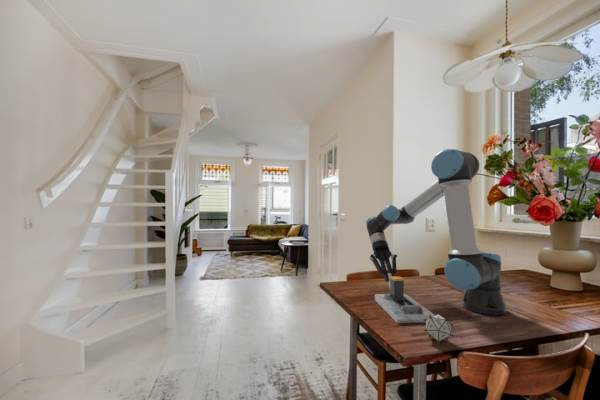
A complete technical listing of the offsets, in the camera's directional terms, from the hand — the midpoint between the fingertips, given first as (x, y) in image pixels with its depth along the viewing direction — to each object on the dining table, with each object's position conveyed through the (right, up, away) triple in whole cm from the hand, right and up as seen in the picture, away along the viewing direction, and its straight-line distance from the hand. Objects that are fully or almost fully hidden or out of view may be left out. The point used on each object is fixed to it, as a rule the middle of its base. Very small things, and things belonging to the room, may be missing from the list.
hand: (392, 288), depth 121 cm
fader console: (+1, -6, -9) cm, 11 cm away
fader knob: (0, -3, -4) cm, 5 cm away
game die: (+3, -6, -34) cm, 35 cm away
